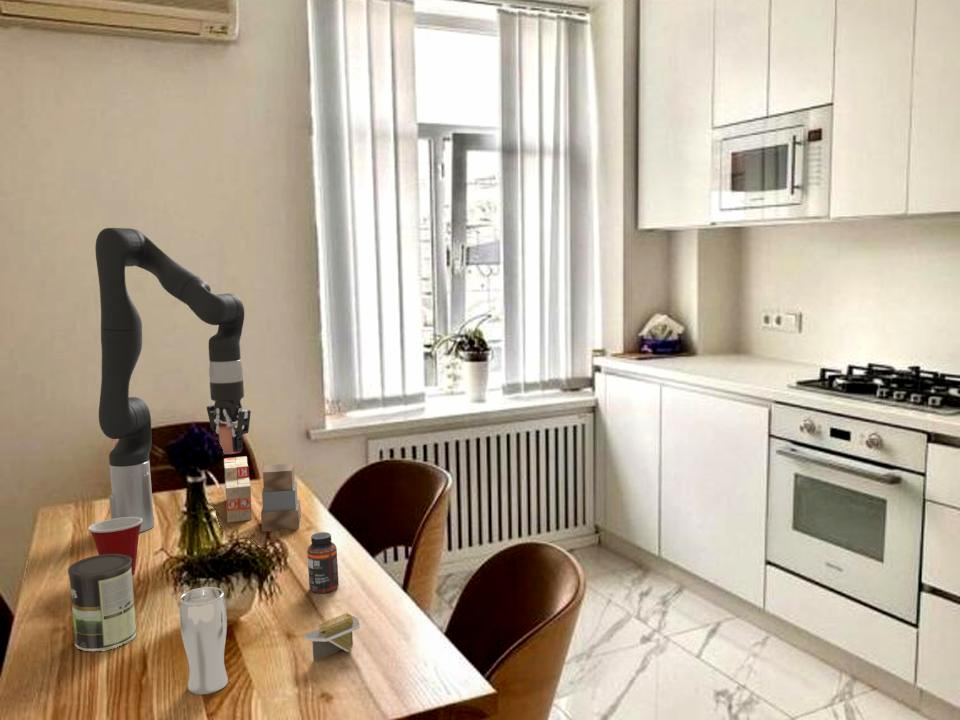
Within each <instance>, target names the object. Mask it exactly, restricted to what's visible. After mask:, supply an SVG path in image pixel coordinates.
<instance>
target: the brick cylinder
mask: <svg viewBox="0 0 960 720" xmlns="http://www.w3.org/2000/svg"><path fill="white" fill-rule="evenodd" d="M235 429H236V431H237V426H235ZM232 437H233V436H232V432H231V429H230V428H229V427H228V425H225V426H221V427H219V439H220V445H221V447H222V449H223V453H224V454H223V455H233V454H238V453H239V454H240V453H241V452H242V451H240V452H233V442H232Z"/></svg>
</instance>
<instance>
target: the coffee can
mask: <svg viewBox="0 0 960 720" xmlns="http://www.w3.org/2000/svg"><path fill="white" fill-rule="evenodd" d="M131 564H132V559H131V558H130V557H129V556H127V555H123V554H103V555H99V554H97V555H93V556H88V557H86V558H83V559H79V560H77V561H76V562H74V563H72V564H71V565H69V567H68V569H67V573H68V576H69V589H70V596H71V597H70V599H71V609H72V620H73V621H72V622H73V623H72V624H73V635H74V647H75V646H76V647H77V648H78V649H81V650H86V651H102V650H108V649H112V650H114V649H113V648H115V649H118V648H120V647H119V646H121V647H123V646H124V645H123V644H125V645H127V644H128V642H129V643H130V642H132V641H133V640H134V639H135V638H136V636H137V632H138V631H137V626H136V613H135V612H136V611H135V597H134V587H133V585H134V584H133V576H132V570H131ZM131 640H132V641H131ZM126 643H127V644H126ZM122 645H123V646H122ZM76 647H75V648H76ZM117 647H118V648H117ZM77 648H76V649H77ZM78 649H77V650H78ZM108 651H109V650H108Z"/></svg>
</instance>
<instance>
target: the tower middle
mask: <svg viewBox="0 0 960 720" xmlns="http://www.w3.org/2000/svg"><path fill="white" fill-rule="evenodd" d="M297 484H298V482H297V481H295V484H294V487H293V490H287V491H271V492H264V487H263V488H262V491H261V499H262V500H261V501H262V503H261V504H262V508H263V512H271V511H285V510H296V506H297V501H298V500H299V499H298V485H297Z"/></svg>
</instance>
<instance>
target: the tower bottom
mask: <svg viewBox="0 0 960 720" xmlns="http://www.w3.org/2000/svg"><path fill="white" fill-rule="evenodd" d="M297 500H298V501H297V506H296V510H285V511H271V512H263V507H262V508H261V511H260V520H261V532H270V531H269V530H274V531H273V532H275V531H287V530H288V531H289V530H298V529H297V528H299V529H300V526H299V525H300V524H301V520H300V518H302V517H301V516H302V514H301V513H302V512H301V499H297Z"/></svg>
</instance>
